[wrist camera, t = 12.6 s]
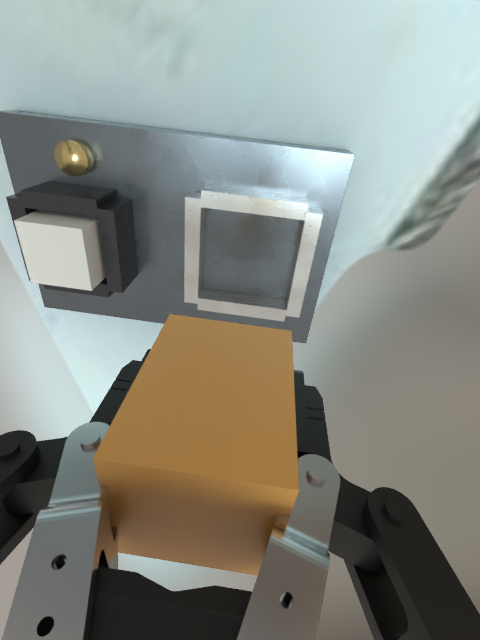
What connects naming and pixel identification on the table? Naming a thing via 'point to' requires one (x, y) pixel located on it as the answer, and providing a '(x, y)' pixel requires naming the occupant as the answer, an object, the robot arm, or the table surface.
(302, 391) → the robot arm
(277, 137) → the table surface
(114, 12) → the table surface
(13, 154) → the grey control panel
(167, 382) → the cap
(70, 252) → the button
